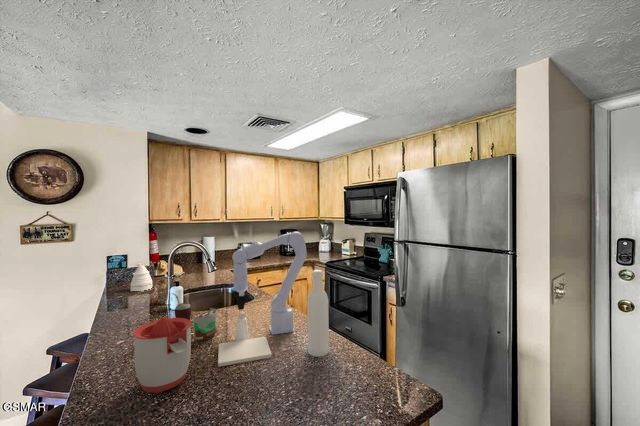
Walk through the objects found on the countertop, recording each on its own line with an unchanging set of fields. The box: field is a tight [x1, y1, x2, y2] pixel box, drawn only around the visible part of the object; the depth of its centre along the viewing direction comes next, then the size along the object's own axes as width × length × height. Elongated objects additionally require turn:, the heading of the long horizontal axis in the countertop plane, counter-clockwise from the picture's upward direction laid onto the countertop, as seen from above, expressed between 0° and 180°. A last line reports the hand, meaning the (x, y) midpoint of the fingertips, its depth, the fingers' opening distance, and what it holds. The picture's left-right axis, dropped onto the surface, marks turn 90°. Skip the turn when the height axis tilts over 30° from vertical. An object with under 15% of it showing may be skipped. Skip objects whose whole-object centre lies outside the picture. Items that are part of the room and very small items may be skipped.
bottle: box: [306, 269, 330, 358], centre depth 104 cm, size 8×8×30 cm
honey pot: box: [130, 262, 153, 292], centre depth 195 cm, size 13×13×18 cm
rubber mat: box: [217, 336, 273, 368], centre depth 105 cm, size 18×15×1 cm
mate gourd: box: [171, 292, 192, 321], centre depth 136 cm, size 8×8×15 cm
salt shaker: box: [235, 311, 250, 341], centre depth 115 cm, size 5×5×11 cm
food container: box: [192, 307, 218, 342], centre depth 118 cm, size 12×6×10 cm, turn 169°
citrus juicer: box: [132, 316, 192, 394], centre depth 86 cm, size 16×17×20 cm
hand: (240, 308), depth 122 cm, fingers open, 2 cm apart
